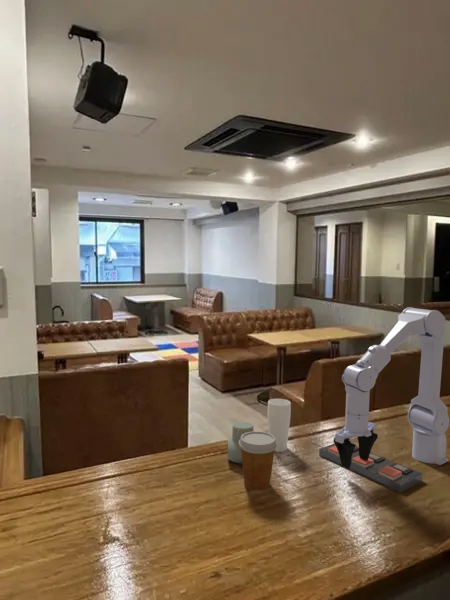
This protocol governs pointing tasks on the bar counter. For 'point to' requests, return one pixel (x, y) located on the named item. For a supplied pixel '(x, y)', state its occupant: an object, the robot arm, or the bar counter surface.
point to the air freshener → (237, 440)
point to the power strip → (372, 471)
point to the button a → (333, 451)
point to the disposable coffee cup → (257, 458)
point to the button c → (390, 473)
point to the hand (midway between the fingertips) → (354, 463)
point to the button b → (362, 462)
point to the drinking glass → (279, 422)
